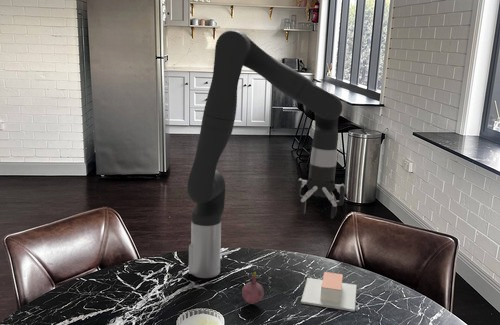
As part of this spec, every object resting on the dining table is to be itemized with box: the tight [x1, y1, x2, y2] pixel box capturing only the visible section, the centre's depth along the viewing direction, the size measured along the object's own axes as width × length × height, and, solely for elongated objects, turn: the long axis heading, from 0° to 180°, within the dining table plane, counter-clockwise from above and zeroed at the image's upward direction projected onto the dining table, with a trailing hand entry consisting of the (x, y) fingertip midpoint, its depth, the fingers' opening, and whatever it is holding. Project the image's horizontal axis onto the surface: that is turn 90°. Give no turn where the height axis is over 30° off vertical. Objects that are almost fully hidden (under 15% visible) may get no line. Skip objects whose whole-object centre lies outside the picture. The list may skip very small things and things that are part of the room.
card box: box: [320, 271, 344, 303], centre depth 141 cm, size 10×6×4 cm, turn 166°
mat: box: [300, 277, 358, 312], centre depth 141 cm, size 15×15×1 cm
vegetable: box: [241, 271, 265, 305], centre depth 133 cm, size 6×6×10 cm
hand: (317, 215), depth 143 cm, fingers open, 8 cm apart
